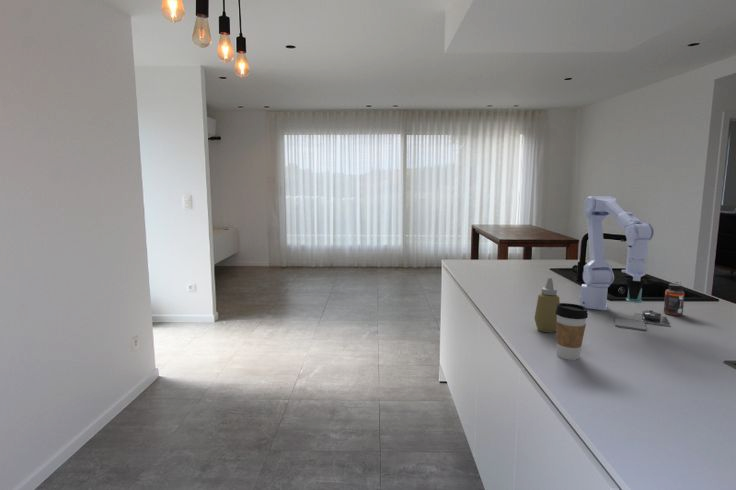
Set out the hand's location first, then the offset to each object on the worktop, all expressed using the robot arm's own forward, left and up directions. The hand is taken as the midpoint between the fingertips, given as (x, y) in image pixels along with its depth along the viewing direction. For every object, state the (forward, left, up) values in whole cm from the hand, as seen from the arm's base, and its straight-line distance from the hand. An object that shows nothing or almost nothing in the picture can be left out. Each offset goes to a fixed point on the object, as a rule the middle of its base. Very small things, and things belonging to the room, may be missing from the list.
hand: (632, 297), depth 149 cm
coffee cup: (-17, -40, -10) cm, 45 cm away
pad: (0, 0, -10) cm, 10 cm away
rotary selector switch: (+7, +10, -10) cm, 16 cm away
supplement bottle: (+15, +23, -10) cm, 29 cm away
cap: (0, 0, -1) cm, 1 cm away
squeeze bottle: (-25, -20, -10) cm, 34 cm away
